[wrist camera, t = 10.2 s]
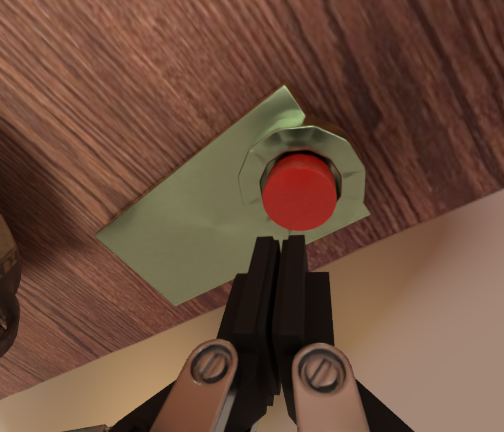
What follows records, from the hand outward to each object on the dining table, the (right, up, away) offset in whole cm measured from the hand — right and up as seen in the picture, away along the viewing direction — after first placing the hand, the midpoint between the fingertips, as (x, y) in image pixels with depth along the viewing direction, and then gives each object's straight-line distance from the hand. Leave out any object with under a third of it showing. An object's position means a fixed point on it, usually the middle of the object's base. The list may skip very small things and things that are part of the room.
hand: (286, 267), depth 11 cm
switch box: (-3, +2, +11) cm, 12 cm away
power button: (+1, +3, +5) cm, 6 cm away
